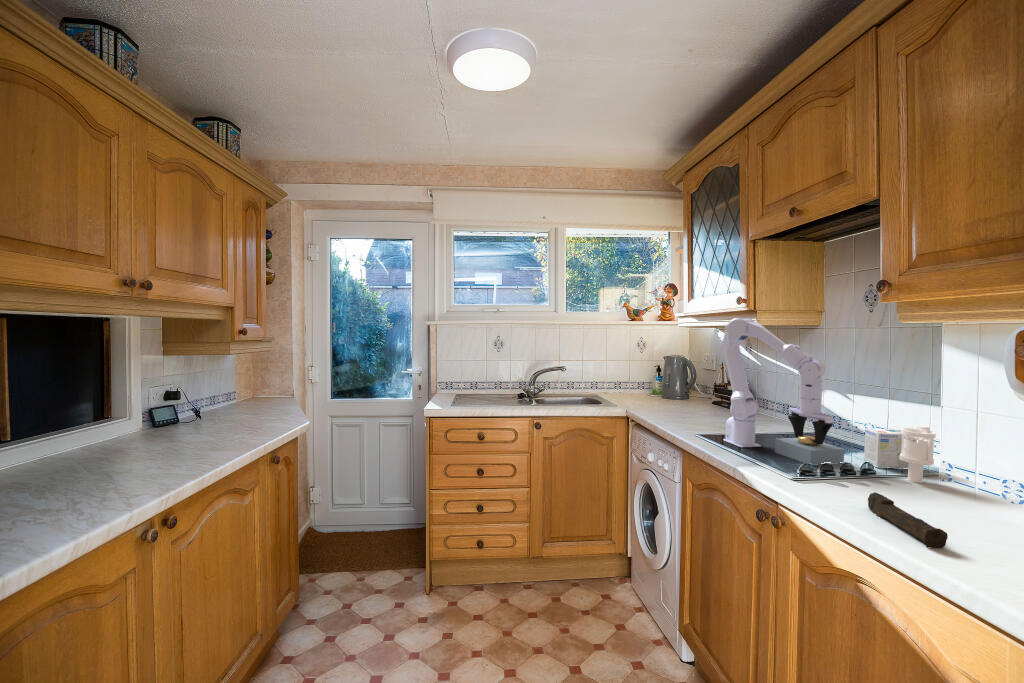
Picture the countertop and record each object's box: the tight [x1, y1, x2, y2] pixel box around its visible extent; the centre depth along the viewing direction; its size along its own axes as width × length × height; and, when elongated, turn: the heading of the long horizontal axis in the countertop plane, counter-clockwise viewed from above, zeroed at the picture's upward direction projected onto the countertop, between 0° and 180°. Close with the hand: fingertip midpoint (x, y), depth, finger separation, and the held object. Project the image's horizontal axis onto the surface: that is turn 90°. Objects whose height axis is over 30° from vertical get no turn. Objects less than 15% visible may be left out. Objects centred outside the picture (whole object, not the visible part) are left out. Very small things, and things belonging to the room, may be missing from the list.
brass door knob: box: [798, 434, 819, 446], centre depth 145 cm, size 6×6×6 cm
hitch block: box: [774, 437, 845, 465], centre depth 145 cm, size 14×12×4 cm
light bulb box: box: [863, 428, 918, 468], centre depth 138 cm, size 11×7×11 cm, turn 84°
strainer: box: [899, 425, 937, 484], centre depth 125 cm, size 7×7×15 cm
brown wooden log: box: [867, 492, 948, 549], centre depth 97 cm, size 19×4×5 cm, turn 173°
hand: (808, 440), depth 145 cm, fingers open, 7 cm apart
